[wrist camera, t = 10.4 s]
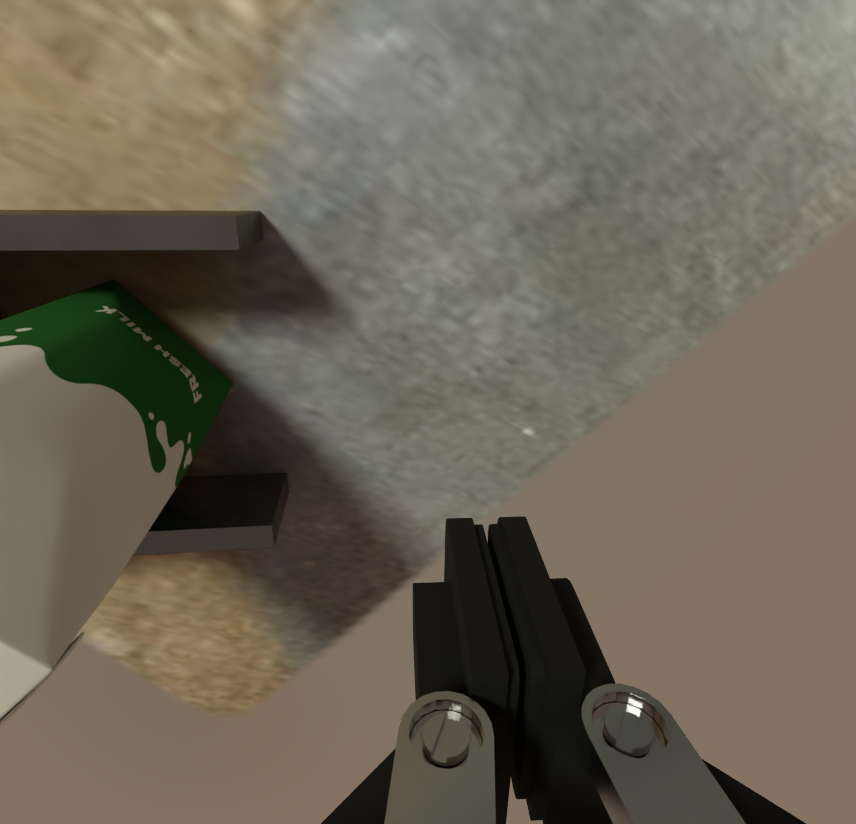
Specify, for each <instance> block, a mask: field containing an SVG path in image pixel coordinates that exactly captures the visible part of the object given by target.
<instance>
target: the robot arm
mask: <svg viewBox="0 0 856 824" xmlns="http://www.w3.org/2000/svg"><path fill="white" fill-rule="evenodd" d="M413 643H414V669H415V690H416V691H415V692H416V701H415V702H413V703H412V704H411V705H410V706H409V708H408V709H407V710H406V712H405V713H404V714H403V717H402V720H401V723H400V726H399V730H398V737H397V744H396V749H395V750H394V751H393V752H392V753H391V754H390V755H389V756H388V757H387V758H386V759H385V760H384V761H383V762H382V763H381V764H380V765H379V766H378V767H377V768H376V769H375V770H374V771H373V772H372V773H371V774H370V775H369V776H368V777H367V778H366V779H365V780H364V781H363V782H362V783H361V784H360V785H359V786H358V787H357V788H356V789H355V790H354V791H353V792H352V793H351V794H350V795H349V796H348V797H347V798H346V799H345V800H344V801H343V802H342V803H341V804H340V805H339V806H338V807H337V808H336V809H335V810H334V811H333V812H332V813H331V814H330V815H329V816H328V817H327V818H326V819H325V820H324V821H323V822H322V823H321V824H506V817H507V807H508V797H509V787H510V777H511V778H512V784H513V789H514V793H515V797H516V799H526V801H527V805H528V810H529V815H530V819H531V820H543V824H805V823H804V822H803V821H801V820H799V819H798V818H796V817H794V816H793V815H791V814H790V813H788V812H787V811H785V810H783V809H782V808H780V807H778V806H777V805H775V804H773V803H772V802H770V801H769V800H767V799H766V798H764V797H762V796H761V795H759V794H758V793H756V792H754V791H753V790H751V789H749V788H748V787H746V786H745V785H743V784H741V783H740V782H738V781H736V780H735V779H733V778H731V777H730V776H729V775H727V774H725V773H724V772H722V771H720V770H719V769H717V768H716V767H714V766H712V765H711V764H709V763H708V762H706V761H704V760H703V759H701V757H700V756H699V754H698V753H697V752H696V750H695V749H694V747H693V746H692V744H691V743H690V741H689V740H688V738H687V737H686V735H685V734H684V733H683V731H682V730H681V728H680V727H679V725H678V724H677V722H676V721H675V720H674V718H673V717H672V715H671V714H670V713H669V712H668V710H667V709H666V708H665V707H664V706H663V705H662V704H661V703H660V702H659V701H658V700H656V699H655V698H654V697H652V696H651V695H650V694H648V693H646V692H644V691H642V690H640V689H637V688H636V687H633V686H628V685H624V684H615V681H614V679H613V677H612V674H611V672H610V670H609V667H608V665H607V663H606V661H605V658H604V656H603V654H602V651H601V649H600V647H599V645H598V642H597V640H596V638H595V636H594V634H593V631H592V629H591V626H590V625H589V622H588V620H587V617H586V615H585V613H584V611H583V608H582V606H581V604H580V601H579V599H578V597H577V595H576V592H575V590H574V588H573V586H572V584H571V582H570V581H569V580H568V579H567V578H557V579H550V578H549V575H548V573H547V570H546V567H545V565H544V562H543V560H542V557H541V555H540V552H539V550H538V547H537V544H536V542H535V540H534V537H533V534H532V532H531V529H530V527H529V524H528V521H527V519H526V518H525V517H500V518H499V519H498V523H497V524H490V525H489V530H488V544H487V540H486V536H485V532H484V528H483V525H474V522H473V519H472V518H450V519H446V531H445V572H444V582H437V583H436V582H435V583H413Z"/></svg>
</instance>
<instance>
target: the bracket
mask: <svg viewBox="0 0 856 824" xmlns="http://www.w3.org/2000/svg"><path fill="white" fill-rule="evenodd" d="M262 239H263V234H262V224H261V214H260V211H98V210H0V251H21V250H240V249H242V248H245V247H247V246H249V245H251V244H253V243H256V242H258V241H260V240H262ZM0 320H2V316H1V313H0ZM288 493H289V491H288V482H287V473H275V474H251V475H228V476H204V477H183V478H182V479H181V481H180V483H179V484H178V486H177V487H176V489H175V490H174V492H173V494H172V495H171V497H170V498H169V500H168V501H167V503H166V504H165V506H164V508H163V509H162V511H161V512H160V514H159V515H158V517H157V518H156V520H155V522H154V523H153V525H152V526H151V528H150V529H149V531H148V532H147V534H146V535H145V537H144V539H143V540H142V542H141V543H140V545H139V546H138V548H137V549H136V551H135V552H134V554H133V555H148V554H166V553H184V552H203V551H221V550H239V549H257V548H274V547H275V543H276V539H277V535H278V531H279V527H280V524H281V520H282V516H283V512H284V508H285V504H286V501H287V497H288Z"/></svg>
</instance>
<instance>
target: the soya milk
mask: <svg viewBox="0 0 856 824" xmlns="http://www.w3.org/2000/svg"><path fill="white" fill-rule="evenodd" d="M232 385H233V382H232V381H230V380H229V379H228V378H227V377H226V376H225V375H224V374H222V373H221V372H220V371H219V370H218V369H217V368H215V367H214V366H213V365H212V364H211V363H210V362H209V361H207V360H206V359H205V358H204V357H203V356H202V355H200V354H199V353H198V352H197V351H196V350H195V349H194V348H192V347H191V346H190V345H189V344H188V343H187V342H186V341H184V340H183V339H182V338H181V337H180V336H179V335H177V334H176V333H175V332H174V331H173V330H172V329H171V328H169V327H168V326H167V325H166V324H165V323H164V322H163V321H161V320H160V319H159V318H158V317H157V316H156V315H154V314H153V313H152V312H151V311H150V310H149V309H148V308H146V307H145V306H144V305H143V304H142V303H141V302H140V301H138V300H137V299H136V298H135V297H134V296H133V295H131V294H130V293H129V292H128V291H127V290H126V289H125V288H123V287H122V286H121V285H120V284H119V283H118V282H116V281H115V280H114V279H113V280H111V281H108V282H105V283H103V284H100V285H97V286H94V287H92V288H89V289H86V290H84V291H81V292H78V293H75V294H72V295H69V296H67V297H64V298H61V299H58V300H55V301H53V302H50V303H47V304H44V305H41V306H39V307H36V308H33V309H30V310H27V311H25V312H22V313H19V314H16V315H14V316H11V317H8V318H5V319H2V320H0V726H1V725H2V724H3V723H4V722H5V721H6V720H7V719H8V718H9V717H11V716H12V715H13V714H14V713H15V712H16V711H17V710H18V709H19V708H20V707H21V706H22V705H23V704H24V703H25V702H26V701H27V700H28V699H29V698H30V697H31V696H32V695H33V694H34V693H35V692H36V691H37V690H38V689H39V688H40V686H41V685H42V684H43V683H44V682H45V681H46V680H47V679H48V678H49V677H50V675H51V674H52V673H53V672H54V671H55V670H56V669H57V668H58V667H59V666H60V664H61V663H62V662H63V661H64V660H65V658H66V657H67V656H68V655H69V654H70V652H71V651H72V650H73V649H74V647H75V646H76V645H77V643H78V642H79V641H80V639H81V638H82V637H83V635H84V634H85V633H84V632H83V633H81V634H80V635H79V636H78V637H77V638H76V639H75V640H74V641H72V640H73V638H74V637H75V635H76V634H77V633H78V632H79V630H80V629H81V628H82V626H83V625H84V624H85V622H86V621H87V620H88V619H89V617H90V616H91V615H92V613H93V612H94V611H95V609H96V608H97V607H98V606H99V604H100V603H101V602H102V600H103V599H104V597H105V596H106V594H107V593H108V592H109V590H110V589H111V587H112V586H113V585H114V583H115V582H116V580H117V579H118V577H119V576H120V574H121V573H122V571H123V570H124V568H125V566H126V565H127V563H128V562H129V560H130V559H131V557H132V556H133V554H134V552H135V551H136V549H137V548H138V546H139V545H140V543H141V542H142V540H143V539H144V537H145V535H146V534H147V532H148V531H149V529H150V528H151V526H152V525H153V523H154V522H155V520H156V518H157V517H158V515H159V514H160V512H161V511H162V509H163V508H164V506H165V504H166V503H167V501H168V500H169V498H170V497H171V495H172V494H173V492H174V490H175V489H176V487H177V486H178V484H179V483H180V481H181V479H182V478H183V476H184V474H185V473H186V471H187V469H188V467H189V465H190V464H191V462H192V460H193V458H194V456H195V455H196V453H197V451H198V449H199V447H200V445H201V443H202V442H203V440H204V438H205V436H206V434H207V432H208V430H209V428H210V426H211V424H212V422H213V421H214V419H215V417H216V415H217V413H218V411H219V409H220V407H221V405H222V403H223V401H224V400H225V398H226V396H227V394H228V392H229V390H230V388H231V386H232ZM71 641H72V642H71Z"/></svg>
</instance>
